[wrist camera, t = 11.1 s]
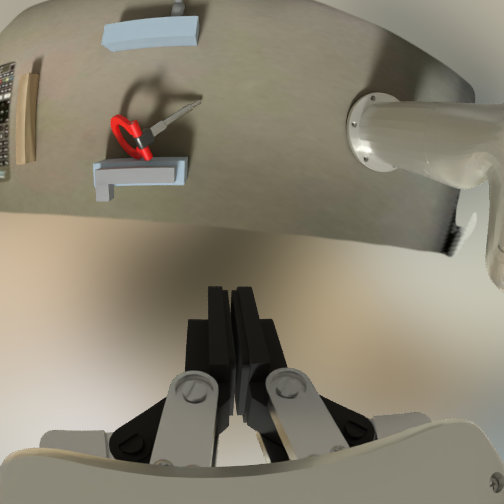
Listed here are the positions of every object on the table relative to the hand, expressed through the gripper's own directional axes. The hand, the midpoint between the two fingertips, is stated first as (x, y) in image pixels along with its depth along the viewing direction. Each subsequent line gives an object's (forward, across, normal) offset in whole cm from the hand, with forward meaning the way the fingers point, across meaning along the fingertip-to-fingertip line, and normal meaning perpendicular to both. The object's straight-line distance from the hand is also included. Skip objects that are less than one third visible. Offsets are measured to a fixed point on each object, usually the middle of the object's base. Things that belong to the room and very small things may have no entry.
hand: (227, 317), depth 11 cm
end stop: (+29, +30, -11) cm, 43 cm away
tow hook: (+30, +11, -9) cm, 34 cm away
